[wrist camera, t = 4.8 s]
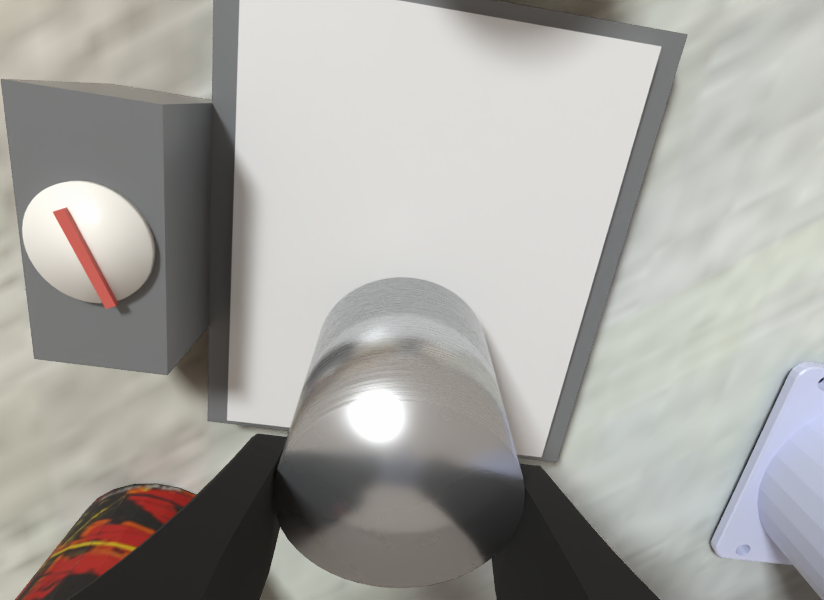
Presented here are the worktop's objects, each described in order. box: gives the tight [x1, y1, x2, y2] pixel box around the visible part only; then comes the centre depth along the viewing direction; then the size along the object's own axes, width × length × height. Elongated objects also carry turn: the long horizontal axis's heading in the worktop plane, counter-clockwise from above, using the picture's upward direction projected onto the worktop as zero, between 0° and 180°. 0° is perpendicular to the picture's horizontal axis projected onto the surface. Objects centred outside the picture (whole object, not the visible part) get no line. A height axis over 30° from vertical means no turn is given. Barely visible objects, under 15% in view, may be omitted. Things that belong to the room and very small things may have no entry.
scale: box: [1, 0, 688, 462], centre depth 13 cm, size 14×12×4 cm
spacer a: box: [273, 277, 525, 588], centre depth 11 cm, size 4×4×5 cm
